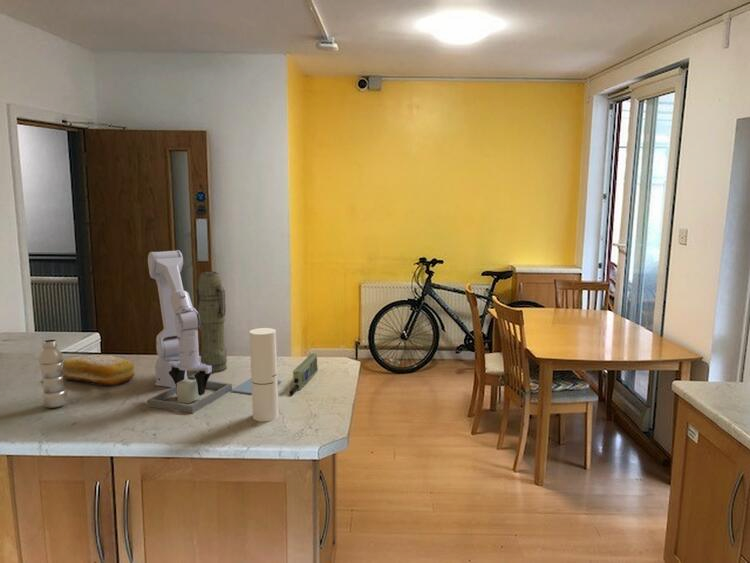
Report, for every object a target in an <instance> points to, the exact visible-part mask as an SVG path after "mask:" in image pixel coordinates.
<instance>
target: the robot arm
mask: <svg viewBox="0 0 750 563" xmlns="http://www.w3.org/2000/svg"><path fill="white" fill-rule="evenodd" d="M183 257H184V256H183V254H182V252H181V251H180V250H179V249H176V250H167V251H149V253H148V256H147V265H148V266H147V268H148V274H149V276H150V278H151V279H153V280H155V282H156V285H157V291H158V298H159V304H160V305H159V306H160V312H161V320H162V326H163V328H162V330H161V331H160V332H159V333H158V334H156V335H157V336H156V338H155V341H156V346H155V347H156V354H157V356H158V358H157V359H156V362H155V367H154V368H155V383H154V385H155V386H158V387H159V386H160V387H166V388H172V387H174V386H176V387H177V383H178V382H180V381H182V380H184V379H186V378H188V373H187V372H188V371H191V372H197V373H194V374H195V375H194V376H195V378H196V381H197V386H198V394H199V395H203V394H204V393H205V394H206V384H207V381H209V379H210V377H211V374H212V373H211V372H212V366H210V365H206V364H203V363H201V361H200V349H199V331H198V330H199V329H201V325H200V317H199V313H198V309H196V308H195V307H194V306H193V302H192V300H191V297H190V294H189V292H188V291H186V290H184V286H183V281H182V275H181V272H182V271H183V270H182V269H183V266H184V258H183ZM205 394H204V395H205ZM204 395H203V396H204Z"/></svg>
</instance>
